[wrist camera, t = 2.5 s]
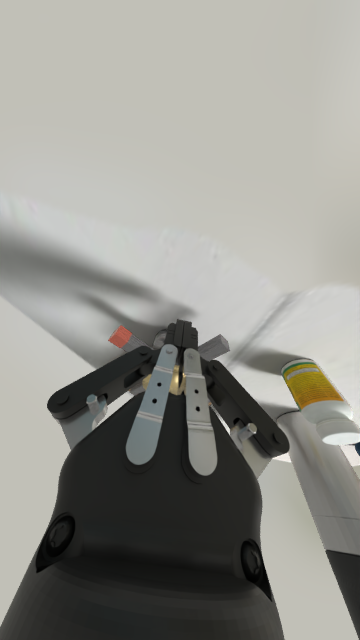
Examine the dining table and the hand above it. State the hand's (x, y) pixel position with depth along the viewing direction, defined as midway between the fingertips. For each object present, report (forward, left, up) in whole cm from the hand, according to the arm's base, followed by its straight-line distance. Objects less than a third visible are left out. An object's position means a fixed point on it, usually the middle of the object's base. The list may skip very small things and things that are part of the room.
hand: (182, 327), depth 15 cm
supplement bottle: (-22, -6, -5) cm, 23 cm away
